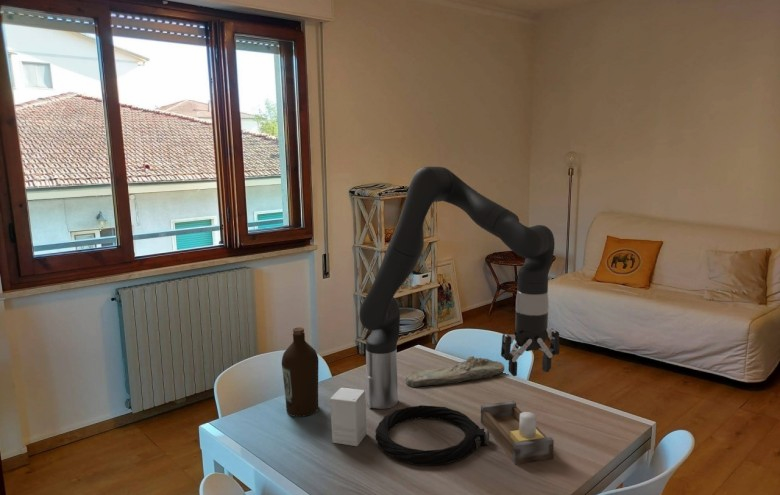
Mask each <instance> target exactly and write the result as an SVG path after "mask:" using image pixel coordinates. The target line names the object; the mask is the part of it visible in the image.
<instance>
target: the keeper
mask: <svg viewBox="0 0 780 495" xmlns="http://www.w3.org/2000/svg"><path fill="white" fill-rule="evenodd" d="M521 412H522V411H521ZM536 427H537V415H536V414H535V413H533V412H531V411H523V412H522V413H520V422H519V430H515V431H510V437H511V438H512V440H513V441H514V442H520V441H526V440H533V439H540V438H545V437H544V436H543V435H542V434H541V433H540V432H539V431H538V430H537V429H536Z"/></svg>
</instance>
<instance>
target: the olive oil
mask: <svg viewBox="0 0 780 495" xmlns="http://www.w3.org/2000/svg"><path fill="white" fill-rule="evenodd" d="M292 332H293V333H292V342H291V344H290V345H289V346H288V347H287V348H286V350H285V351H284V353H283V354H282V358H281V369H282V378H283V379H282V380H283V388H284V389H283V390H284V397H285V398H284V399H285V407H286V410H285V411H286V413H287V414H288V415H290V416H293V417H301V418H302V417H308V416H311V415H314V414H315V413H317V411H318V410H319V355H318V354H317V351H316V349H315V348H314V347H313V346H312V345H310V344H309V343H308V342H307V341H306V336H305V334H306V333H305V328H304V327H295V328H293V329H292Z"/></svg>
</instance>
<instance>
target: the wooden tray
mask: <svg viewBox="0 0 780 495" xmlns="http://www.w3.org/2000/svg"><path fill="white" fill-rule="evenodd" d="M520 413H522V410H520V409H519V407H517V402H516V401H515V400H510V401H503V402H495V403H486V404H481V405H480V422H481V424H482V426H483V427H484V429H486V431H487V430H488V432H489V435H491V436H492V437H493V439H494V440H495V441H496V442H497V444H498V445H499V447H501V448H502V450H503V451H504V452H505V453H506V455H507V456H508V457H509V459H510V460H511V461H512V462H513V463H514V465H520V464H521V465H522V464H528V463H534V462H541V461H546V460H553V459H554V445H555V444H554V442H555V440H554V439H553V437H551V436H548V437H547V436H546V434H545V433H543V432H542V431H541V429H539V428H538V427H537V426H536V429H537V430H538V431H539V432H540V433H541V434H542V435H543V436H544V437H545V438H540V439H533V440H526V441H520V442H514V441H513V440H512V438H511V437H510V431H515V430H519V422H520Z"/></svg>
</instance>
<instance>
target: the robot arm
mask: <svg viewBox="0 0 780 495" xmlns="http://www.w3.org/2000/svg"><path fill="white" fill-rule="evenodd" d="M435 202H437V203H439V202H445V203H448V204H451V205H454V207H455V206H456V207H458V208H459V209H461V210H462V211H463V212H465V213H466V215H468V217H469V218H470V219H471V220H472V222H473V223H475V224H476V225H477V226H478V227H480V228H481V229H483V230H485V231H486V232H488V233H490V234H491V235H493V236H495V237H496V238H498V239H500V240H501V242H502V243H503V244H504V245H505V246H507V247H508V248H509V250H511V251H512V252H513V253H515V254H516V255H518V256H520V257H522V258H525V259H524V263H523V264H522V266H521V267H520V268H519V269H518V271H517V285H516V286H517V287H516V288H517V290H516V297H515V320H514V322H515V323H514V326H515V331H514V333H513V334H509V333H506V332H505V333H503V334H502V337H501V338H502V339H501V350H500V352H501V353H500V356H501V357H502V358H503V359H504V360H505V361H508V372H509V374H510V375H512V376H513V377H517V376H518V361H517V360H518V359H519V357H520V356H522V355H523V354H524V353H525V352H531V351H538V350H540V351H541V352H542V354H543V355H542V364H541V365H542V366H541V368H542V370H543V371H544V372H545V373H549V372H550V370H551V368H552V358H553V357H554V356H558V355H559V354H560V332H559V331H558V330H556V329H554V328H553V327H552V328H550V329H549V330H547V329H548V325H549V324H548V321H549V318H548V317H549V295H548V293H549V292H548V291H549V272H550V269H551V265H552V262H553V256H554V252H555V236H554V233H553V231H552V230H551V229H550V228H549V227H547V226H546V225H541V224H537V225H534V226H529V227H528V226H526V225H525V224H523V223H521V222H520V218H519V216H518V215H517V214H516V213H514V212H513V211H512V210H510V209H507V208H506V207H504V206H503V205H501V204H498V203H497V202H495V201H493V200H491V199H489V198H488V197H486V196H485V195H483V194H481V193H480V192H478V191H477V190H476V189H474V188H473V187H471V186H470V185H468V184H467V183H465V182H464V181H463V180H462V179H461V178H460V177H458V176H457V175H456V174H455V173H453V171H451V170H449V169H448V168H446V167H442V166H423V167H420V168H419V169H417V171H415V172H414V174H413V176H412V178H411V181H410V183H409V185H408V190H407V194H406V197H405V201H404V203H403V204H404V205H403V208H402V211H401V214H400V216H399V218H398V221H397V224H396V226H395V229H394V231H393V234H392V236H391V238H390V240H389V242H388V245H387V247H386V250H385V254H384V256H383V259H382V261H381V264H380V266H379V268H378V271H377V273H376V276H375V278H374V281H373V283H372V285H371V286H370V289H369V291H368V292H367V294H366V296H365V298H364V299H363V302H362V304H361V306H360V308H359V320H360V324H361V325H362V327H364V329H367V330H369V331H371V333H370V334H369V335H368V337H367V338H366V340H365V365H366V368H365V369H366V370H365V371H364V380H365V383H364V384H365V401H366V404H367V406H368V408H369V409H377V410H378V409H379V410H385V409H391V408H393V407H396V405H397V404H398V401H399V400H398V396H399V394H398V352H397V351H398V350H397V349H398V348H397V346H398V345H397V344H398V341H399V337H400V322H401V321H400V320H401V313H400V306H399V304H398V303H399V302H398V301H397V300H396V298H395V295H396V293H397V291H398V290H399V289H400V287H401V286H402V285H404V283H405V282H406V280H407V279H408V278H409V277H410V276H411V274H412V273H413V271H414V270H415V268H416V266H417V263H418V262H419V259H420V257H421V254H422V253H423V249H424V245H425V243H424V242H425V241H424V238H425V237H424V223H425V219H426V217H427V215H428V212H429V210H430V208H431V206H432V205H433V203H435ZM547 339H549V347H548V346H547V345H546V340H547ZM514 341H515V343H514ZM513 343H514V344H513ZM512 344H513V345H512ZM511 346H512V347H511Z"/></svg>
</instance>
